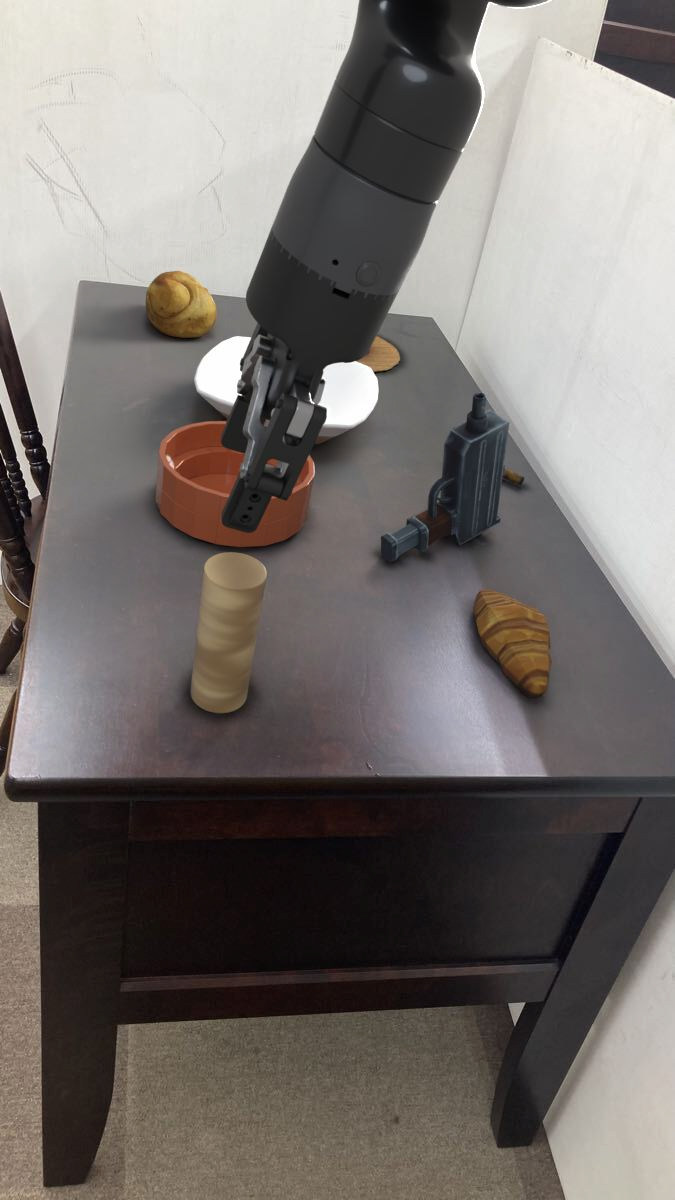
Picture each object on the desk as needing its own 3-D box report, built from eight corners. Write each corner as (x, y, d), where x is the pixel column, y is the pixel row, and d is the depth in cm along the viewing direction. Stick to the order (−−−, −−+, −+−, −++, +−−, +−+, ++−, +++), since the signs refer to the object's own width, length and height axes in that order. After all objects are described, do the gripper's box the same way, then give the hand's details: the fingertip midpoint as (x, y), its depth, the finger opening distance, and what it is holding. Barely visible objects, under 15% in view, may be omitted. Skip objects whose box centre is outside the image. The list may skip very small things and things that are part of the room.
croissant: (571, 702, 77) (591, 659, 74) (499, 705, 75) (517, 660, 72) (512, 604, 87) (528, 562, 84) (448, 604, 85) (461, 561, 82)
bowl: (378, 402, 118) (387, 365, 115) (357, 478, 101) (367, 436, 98) (220, 365, 119) (224, 327, 116) (172, 434, 101) (175, 392, 98)
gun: (378, 434, 79) (499, 374, 85) (377, 569, 92) (483, 508, 98) (397, 448, 78) (519, 386, 84) (394, 583, 90) (501, 521, 96)
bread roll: (139, 305, 130) (142, 249, 126) (206, 310, 133) (211, 256, 129) (147, 340, 121) (150, 282, 116) (219, 346, 124) (224, 288, 119)
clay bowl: (173, 556, 83) (178, 501, 79) (142, 472, 94) (145, 421, 90) (325, 547, 89) (336, 496, 85) (279, 469, 99) (287, 420, 96)
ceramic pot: (297, 314, 139) (304, 268, 135) (407, 341, 138) (418, 297, 134) (268, 353, 125) (274, 304, 121) (390, 384, 124) (401, 336, 120)
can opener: (523, 484, 107) (526, 475, 106) (513, 489, 105) (516, 481, 105) (461, 452, 111) (464, 444, 110) (451, 457, 109) (454, 449, 109)
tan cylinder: (197, 716, 67) (212, 591, 60) (184, 677, 70) (197, 553, 63) (253, 709, 69) (274, 586, 62) (238, 671, 72) (256, 550, 65)
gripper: (268, 177, 51) (181, 408, 61) (281, 281, 41) (174, 540, 51) (383, 227, 54) (283, 441, 64) (424, 337, 44) (296, 573, 53)
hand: (235, 485), depth 57 cm, fingers open, 8 cm apart
